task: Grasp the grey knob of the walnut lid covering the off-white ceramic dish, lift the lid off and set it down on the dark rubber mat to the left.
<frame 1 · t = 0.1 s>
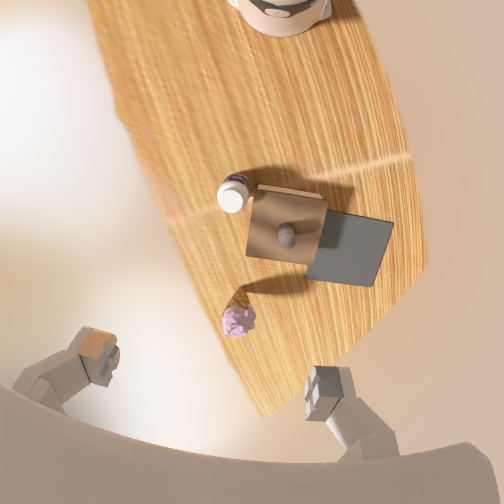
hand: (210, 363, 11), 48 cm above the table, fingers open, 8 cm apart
ice cream cone: (243, 287, 67), on the table
lid: (285, 227, 55), point 5 cm above the table, touching dish
pill bottle: (237, 185, 57), on the table
mat: (349, 250, 62), on the table
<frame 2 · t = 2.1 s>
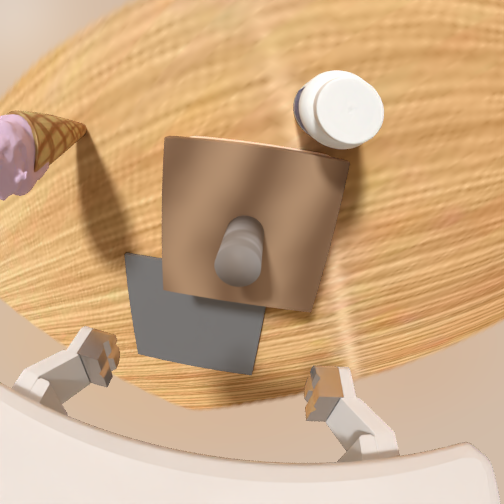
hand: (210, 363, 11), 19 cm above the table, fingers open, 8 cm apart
ice cream cone: (83, 132, 25), on the table
lid: (246, 227, 23), point 5 cm above the table, touching dish
pill bottle: (323, 108, 23), on the table
mat: (193, 321, 35), on the table
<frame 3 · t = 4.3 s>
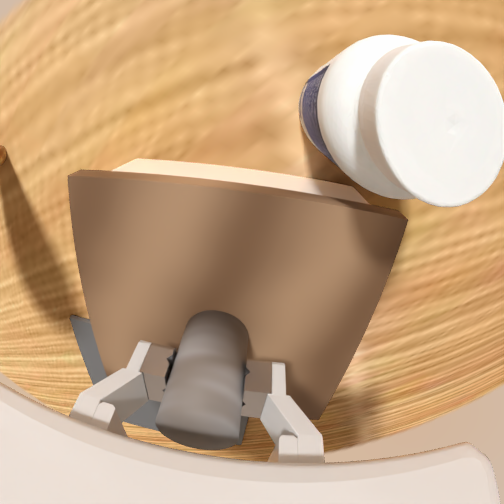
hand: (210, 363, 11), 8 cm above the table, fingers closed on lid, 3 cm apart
ice cream cone: (4, 157, 15), on the table
lid: (219, 320, 14), point 5 cm above the table, touching dish, gripper
pill bottle: (347, 111, 14), on the table
mat: (165, 394, 25), on the table
dish: (231, 266, 18), on the table
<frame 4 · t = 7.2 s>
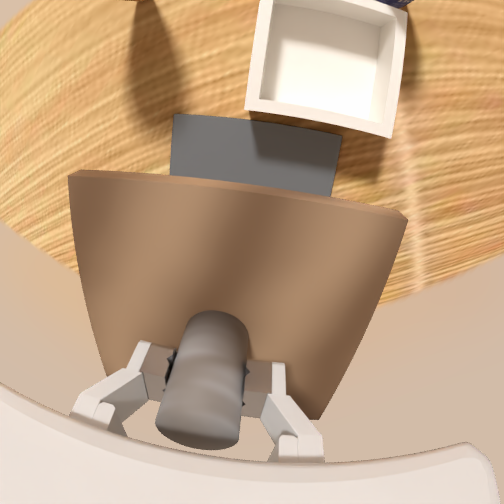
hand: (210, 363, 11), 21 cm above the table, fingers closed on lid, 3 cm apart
lid: (219, 320, 14), point 18 cm above the table, touching gripper
mat: (247, 200, 30), on the table
dish: (321, 60, 23), on the table
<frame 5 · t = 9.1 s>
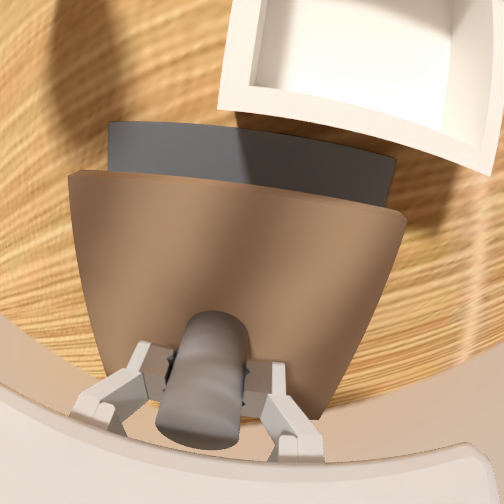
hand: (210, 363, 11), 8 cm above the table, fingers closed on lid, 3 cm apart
lid: (219, 320, 14), point 5 cm above the table, touching gripper
mat: (234, 263, 18), on the table
dish: (362, 27, 11), on the table
when the fingers open (5 cm above the table, at t = 10.5 s): lid drops 2 cm, resting on mat.
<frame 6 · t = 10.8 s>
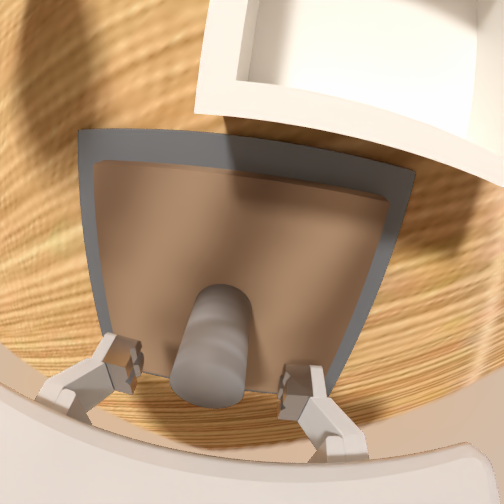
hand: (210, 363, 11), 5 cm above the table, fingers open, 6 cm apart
lid: (225, 295, 15), resting on mat
mat: (225, 291, 16), on the table
dish: (376, 14, 9), on the table
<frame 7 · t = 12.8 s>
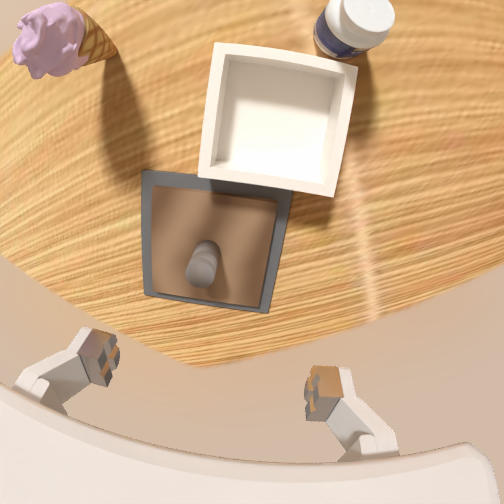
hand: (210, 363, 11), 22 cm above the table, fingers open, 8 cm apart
ice cream cone: (113, 54, 24), on the table
lid: (209, 247, 33), resting on mat
pill bottle: (338, 36, 23), on the table
mat: (209, 246, 34), on the table
dish: (274, 116, 27), on the table
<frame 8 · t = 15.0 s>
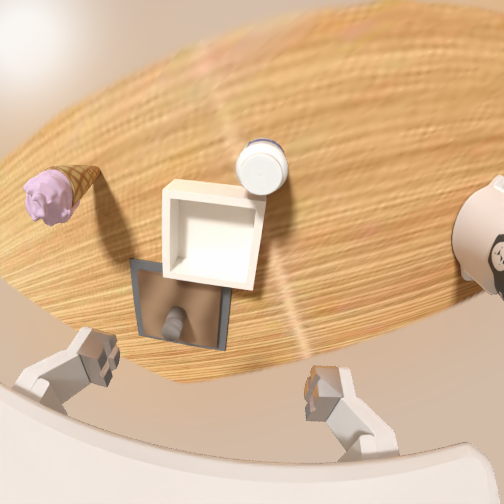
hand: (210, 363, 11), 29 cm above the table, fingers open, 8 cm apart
ice cream cone: (98, 173, 38), on the table
lid: (179, 309, 47), resting on mat
pill bottle: (263, 157, 36), on the table
mat: (180, 307, 47), on the table
dish: (216, 226, 40), on the table
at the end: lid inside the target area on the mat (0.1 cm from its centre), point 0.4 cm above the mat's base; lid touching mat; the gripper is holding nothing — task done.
